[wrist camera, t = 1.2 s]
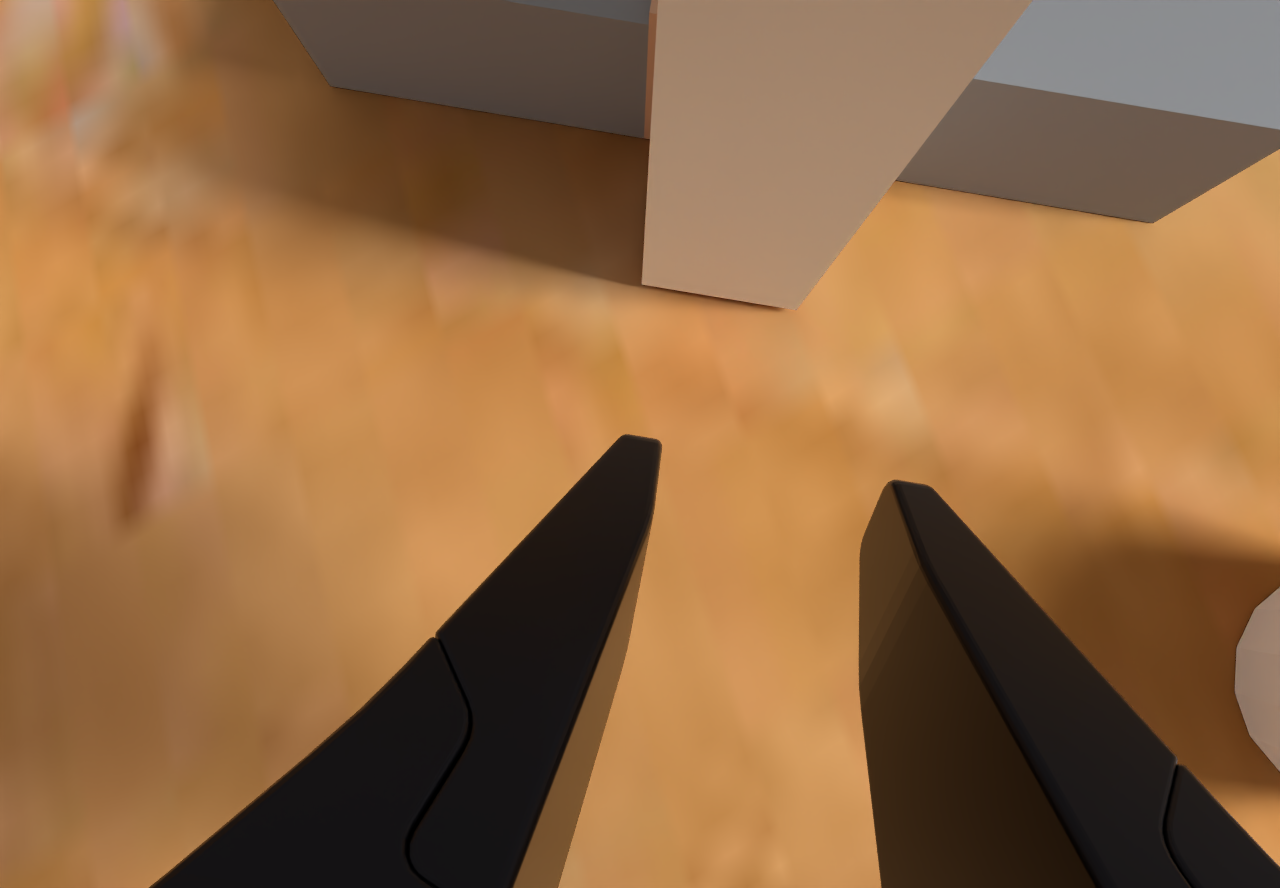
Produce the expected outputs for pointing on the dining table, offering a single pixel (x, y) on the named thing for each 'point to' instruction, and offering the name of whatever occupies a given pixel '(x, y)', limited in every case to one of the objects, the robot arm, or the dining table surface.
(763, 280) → the peg block
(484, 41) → the grey blocks
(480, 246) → the dining table surface
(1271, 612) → the shot glass
